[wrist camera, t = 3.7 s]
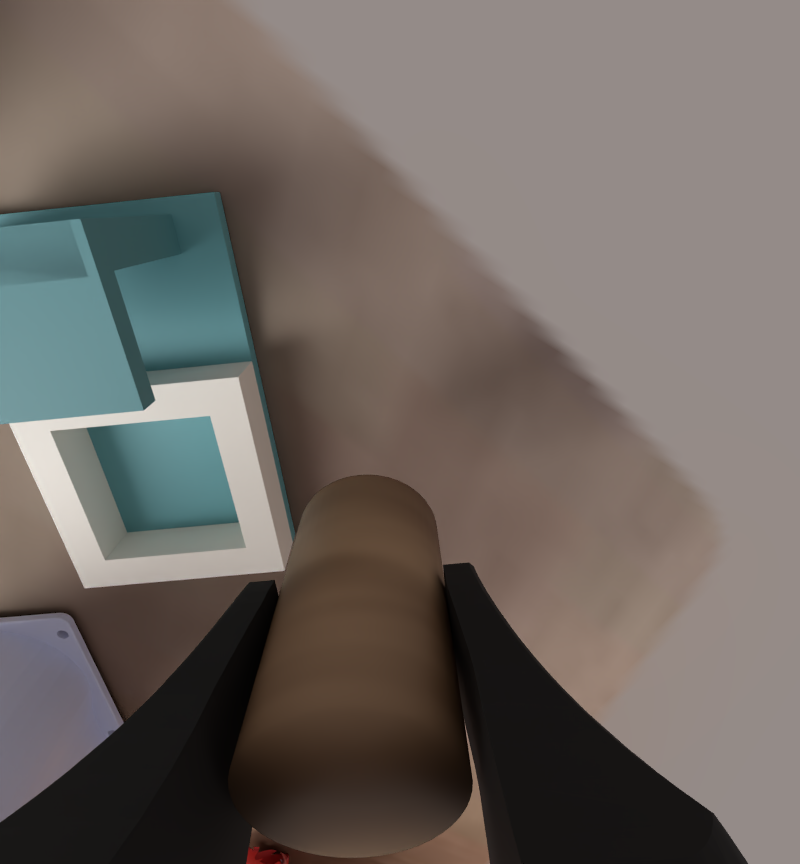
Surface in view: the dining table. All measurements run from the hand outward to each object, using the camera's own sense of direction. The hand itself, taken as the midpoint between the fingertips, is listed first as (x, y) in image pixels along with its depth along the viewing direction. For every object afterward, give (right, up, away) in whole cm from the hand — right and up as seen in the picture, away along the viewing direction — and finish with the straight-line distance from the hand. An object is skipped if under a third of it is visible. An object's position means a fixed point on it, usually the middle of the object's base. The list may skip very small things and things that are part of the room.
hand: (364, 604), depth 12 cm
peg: (0, +1, +3) cm, 3 cm away
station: (-9, +5, +7) cm, 12 cm away
